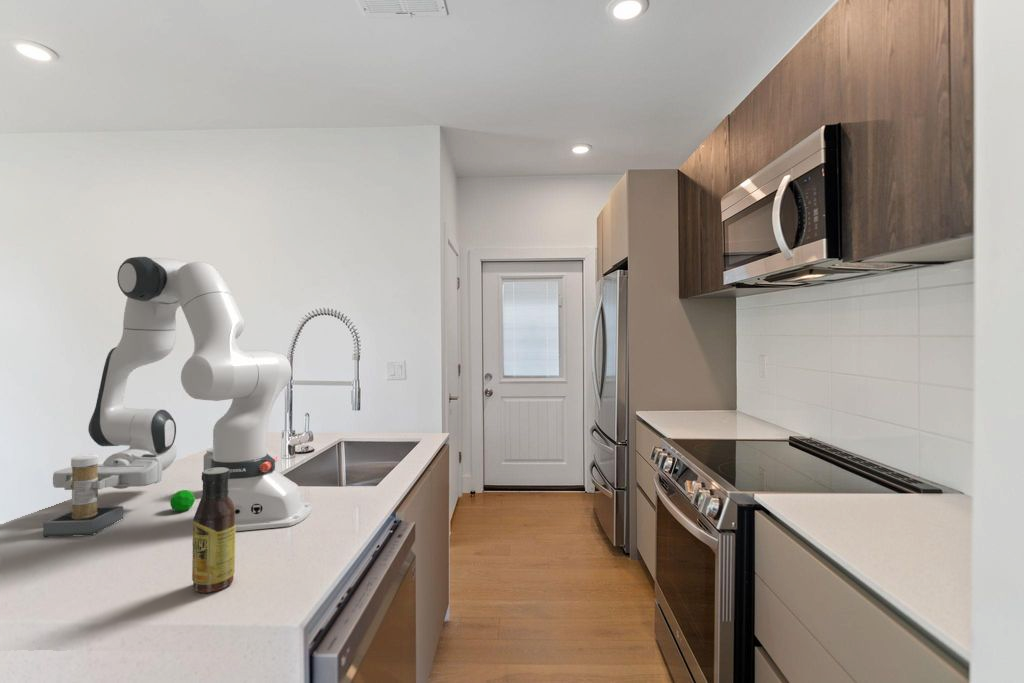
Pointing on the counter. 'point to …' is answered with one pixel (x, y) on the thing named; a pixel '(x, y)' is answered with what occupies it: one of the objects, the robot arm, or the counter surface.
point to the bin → (82, 522)
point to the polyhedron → (182, 500)
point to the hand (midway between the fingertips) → (82, 486)
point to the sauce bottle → (214, 534)
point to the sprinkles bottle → (84, 486)
